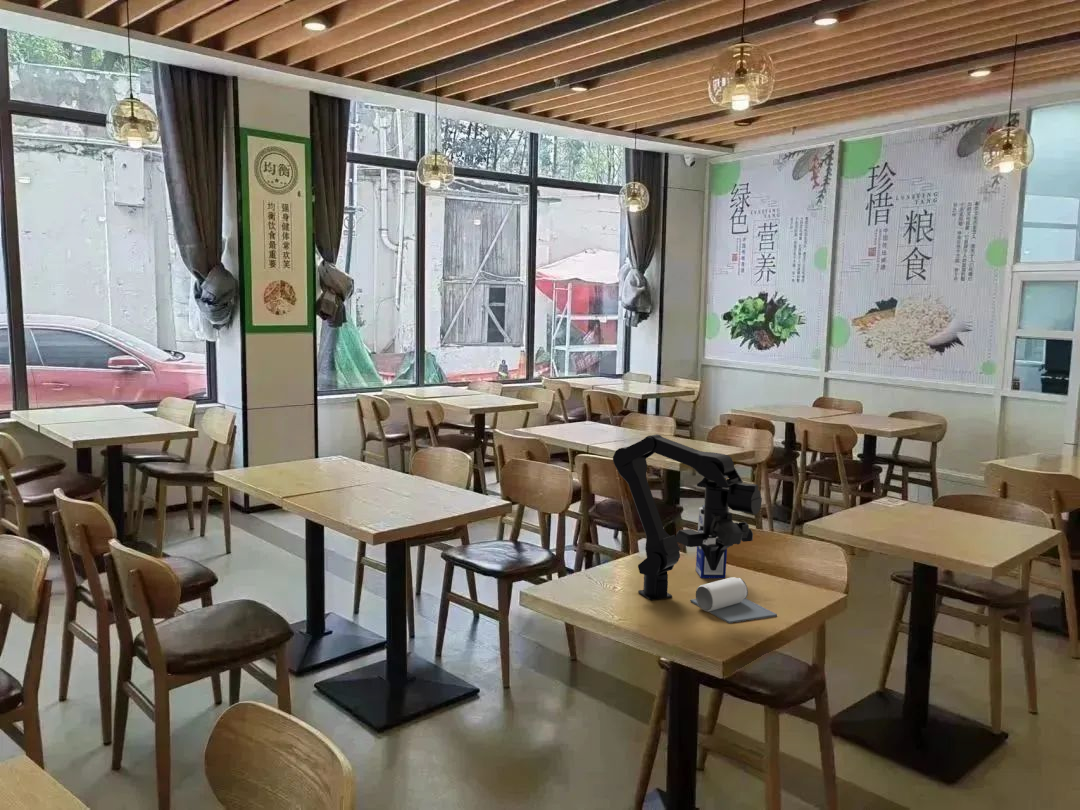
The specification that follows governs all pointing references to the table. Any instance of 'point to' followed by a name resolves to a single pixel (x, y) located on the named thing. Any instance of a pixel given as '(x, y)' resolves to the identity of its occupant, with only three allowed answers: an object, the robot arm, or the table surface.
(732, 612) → the mat
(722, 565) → the milk carton
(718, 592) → the can
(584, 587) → the table surface
